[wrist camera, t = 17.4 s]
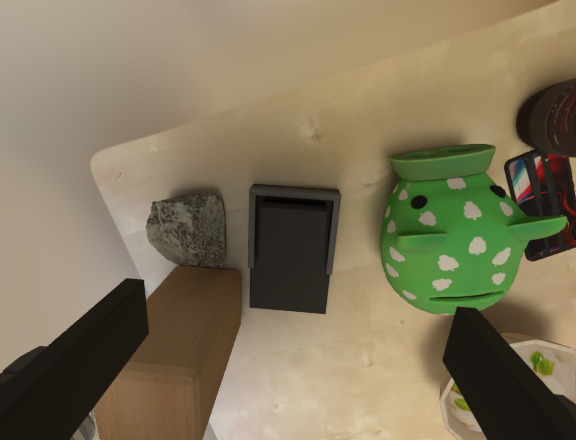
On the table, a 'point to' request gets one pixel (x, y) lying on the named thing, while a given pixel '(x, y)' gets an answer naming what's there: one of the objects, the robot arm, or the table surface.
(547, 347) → the bowl
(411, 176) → the piggy bank
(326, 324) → the table surface
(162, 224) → the stone
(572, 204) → the smartphone
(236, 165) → the table surface
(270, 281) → the black tray
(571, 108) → the camera lens
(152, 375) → the wooden block
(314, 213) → the foam pad
